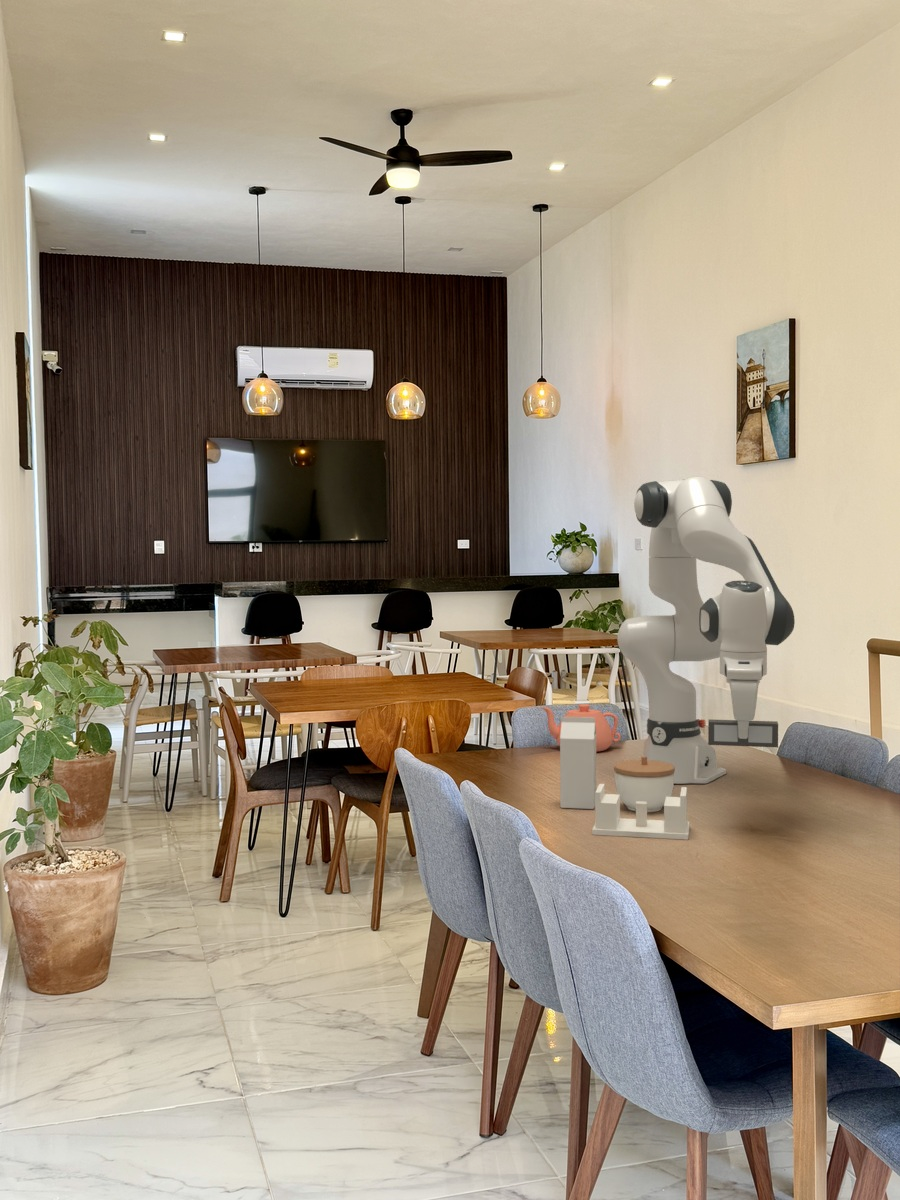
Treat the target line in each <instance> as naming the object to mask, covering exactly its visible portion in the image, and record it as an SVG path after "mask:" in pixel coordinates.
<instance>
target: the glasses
mask: <svg viewBox="0 0 900 1200" xmlns="http://www.w3.org/2000/svg"><path fill="white" fill-rule="evenodd" d="M707 723H708V724H707V725H708V727H707V729H708V732H707V733H708V739H707V741H708V745H711V746H725V747H755V748H756V747H757V748H758V747H759V748H779V723H778V721H772V720H771V721H770V720H749V726H748V738H747V739H740V738H739V737H738V720H735V719H708V722H707Z"/></svg>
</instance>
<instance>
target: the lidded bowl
mask: <svg viewBox="0 0 900 1200" xmlns="http://www.w3.org/2000/svg"><path fill="white" fill-rule="evenodd" d="M613 770H614V783H615V789H616V792H617V794H619V795H620V802H622V803H623V804H624V805H625V806H626V809H628V811H632V812H636V802H637V801H643V802H647V813H655V812H659V811H660V812H661V810H662V808H664V804H665V799H666V797H672V794H673V790H674V784H675V783H674V773H675V767H674V766H673V765H672V764H669V763H666V762H661V761H653V760H647V756H643V755H642V756H641V757H640V759H633V760H631V759H630V760H622V761H619V762H617V763H614V765H613Z"/></svg>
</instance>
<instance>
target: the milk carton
mask: <svg viewBox="0 0 900 1200" xmlns="http://www.w3.org/2000/svg"><path fill="white" fill-rule="evenodd" d="M561 721H562V723H561V722H560V723H561V734H560V746H559V759H560V760H559V761H560V762H559V766H560V768H559V769H560V770H559V771H560V773H559V775H560V779H559V780H560V783H559V785H560V789H559V790H560V795H559V796H560V799H559V800H560V803H559V804H560V808H562V809H583V810H585V809H587V810H593V809H594V810H595V792H596V790H597V752H596V727H595V718H593V717H564V716H561Z"/></svg>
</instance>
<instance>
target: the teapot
mask: <svg viewBox="0 0 900 1200" xmlns="http://www.w3.org/2000/svg"><path fill="white" fill-rule="evenodd" d="M540 707H541V708H542V709H543V710H544V712H545V713H546V716H547V728H548V731H549V733H550V736H551V737H553V738H554V739H555V740H556V741H555V742H556V743H557V744H558V746H559V747H560V734H561V723H562V720H561V721H560V722H559V725H557V724H556V723H555V717H554V715H555V714H554V712H553V710H552V709H551V708H548V707H546V706H540ZM590 707H591V705H590V704H587V703H581V704H578V708H579V709H570V710H568V711H566V713H565V714H564V716H563V717H593V718H595V727H596V753H599V752H604V751H606V750H607V749H609V747H611V746H612V744H613V742H614V743H618V742H619V741H621V738H622V737H621V734H620V733H619V732H616V731H617V728H618V724H619V720H618V719H619V718H618V717H617V715H616V714H615V713H613V712H604V713H602V711H600V710H597V709H590ZM606 717H612V718H613V721H614V722H613V727H612V728H611V726H610V723H609V722H608V720H607V718H606ZM615 736H617V737H616V738H615Z"/></svg>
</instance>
